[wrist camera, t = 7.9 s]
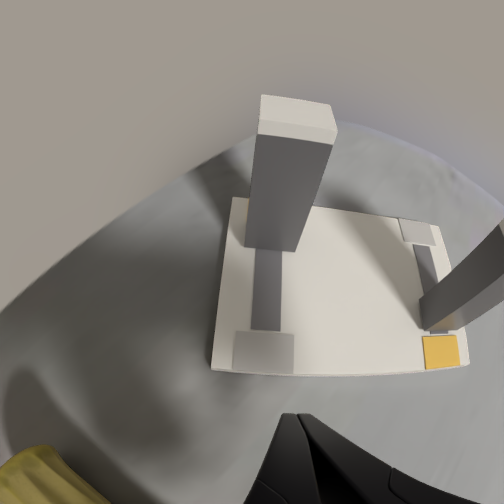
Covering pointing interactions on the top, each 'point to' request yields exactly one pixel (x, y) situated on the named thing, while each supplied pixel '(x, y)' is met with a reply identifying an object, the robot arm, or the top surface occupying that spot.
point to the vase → (43, 480)
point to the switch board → (333, 299)
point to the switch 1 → (287, 170)
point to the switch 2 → (467, 287)
